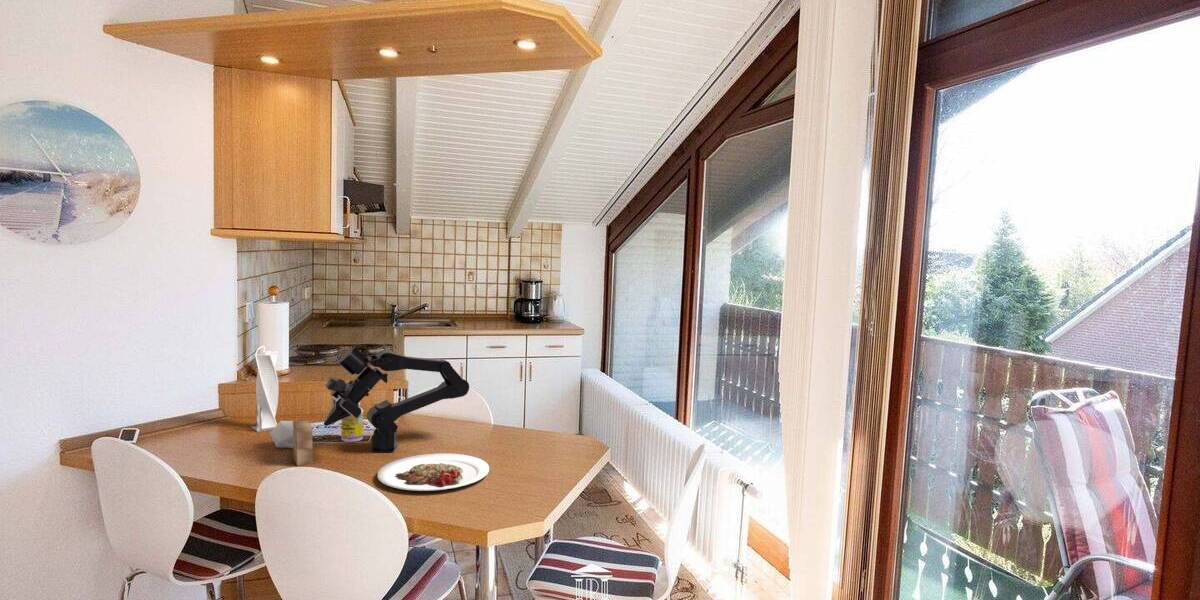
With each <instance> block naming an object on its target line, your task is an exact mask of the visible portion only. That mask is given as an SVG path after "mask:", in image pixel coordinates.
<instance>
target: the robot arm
mask: <svg viewBox="0 0 1200 600" xmlns="http://www.w3.org/2000/svg"><path fill="white" fill-rule="evenodd" d="M337 364H338V365H340V367H342V368H343V369H344V370H345V371H346V372H348V374H350V375H351V376H353V375H358V376H357V377H356V378H354V380H353V379H351V380H349V381H348V382H346V381H345V380H344V379H341V378H340V377H339V378H335V377H332V376H330V377H329V378H328V380H327V382H326V384H325V388H326V389H327V390H329V391H331V392H330V395H331V396H332V397H334V398H335V399H334V398H331V399H332V407H331V409H330V411H329V413H328V415H327V417H326V418H325V420H324V421H323V425H324V426H326V427H327V426H329V425H333V424H334V423H336V422H339V421H340V420H341V421H342V419H343V418H346V417H348V416H351V414H352V415H353V416H354V417H356V418H358V417H359V416H360V414H361V408H362V407H360V406H359V404H358V403H359V402H360V403H361V401H362V400H364V399H365V397H369V395H370V394H369V393H370V392H371V390H373V388H374V387H375V386H376V385H377V384H378V383H380V381H383V382H384V383H385V384H388V382H389V381H388V373H387V372H393V371H395V372H396V371H397V372H398V371H402V370H413V371H423V372H432V373H433V372H434V373H439V374H440V376H441V377H442V380H443V381H442V382H441V383H440V384H439V385H438V386H436V387H434V388H431V389H429V390H426V391H423V392H421V393H418V394H415V395H413V396H411V397H408V398H405V399H402V400H400V401H397V402H393V403H392V402H390V401H389V400H388V399H384V400H383V401H381V402H378V403H373V406H372V407H370V408H369V409H368V411H367V414H366V418H367V420H368V422H369V423H370V424H371V425H372V426H373V427H374V430H373V434H372V435H371V449H372V450H371V452H372V453H394V452H395V451H396V450H397V448H398V447H399V445H398V444H397V431H398V428H399V426H398V424H397V423H396V421H397V420H398V419H400V417H403V416H404V415H407V414H409V413H411V412H414V411H417V410H419V409H420V410H421V409H422V408H425V407H428V406H430V405H432V404H436V403H437V402H440V401H442V400H449V399H451V400H453V399H458V398H463V397H465V396H466V395H468V392H469V391H470V384H469V381H468V380H466V379H464V378H462V377H461V375H459V373H458V372H457V371H456V370H455V368H453V366H452V365H451V362H449V361H447V360H445V359H435V358H434V359H433V358H423V357H415V356H414V357H413V356H406V355H402V354H400V353H397V352H394V351H390V350H386V349H385V350H380V351H378V352H377V353H376V354H371V355H367V356H365V354H364V353H362V352H361V351H360V350H359V348H358V347H356V346H353V347H352V348H350V349H348V350H347V351H346V352H344V353H343V354H342V355H340V357H339V359H338V360H337ZM368 364H369V365H368ZM370 365H371V366H370ZM372 367H373V368H372ZM378 368H379V369H378ZM381 370H382V371H385V372H382V371H381ZM350 413H351V414H350Z"/></svg>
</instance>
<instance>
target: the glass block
mask: <svg viewBox="0 0 1200 600" xmlns="http://www.w3.org/2000/svg"><path fill="white" fill-rule="evenodd" d="M292 421H293V448H292V449H293V450H292V451H293V454H292V455H293V459H294V462H295V464H296V466H297V467H303V466H309V465H311V466H312V465H314V464H313V461H314V459H313V456H314V454H313V426H312V424H311V422H310V420H309V419H302V420H292Z"/></svg>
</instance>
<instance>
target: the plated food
mask: <svg viewBox="0 0 1200 600" xmlns="http://www.w3.org/2000/svg"><path fill="white" fill-rule="evenodd" d="M489 471H490V466H489V463H487V462H486V461H485V460H483V459H481V458H478V457H476V456H473V455H469V454H468V455H467V454H461V453H446V452H444V453H425V454H417V455H412V456H408V457H407V456H406V457H403V458H398V459H396V460H394V461H391V462H389V463H387V464H385V465H383V466H382V467H380V468H379V470H378V471H377V479H378V480H379V482H381V483H382V484H383V485H386V486H388V487H391V488H395V489H399V490H406V491H419V492H420V491H421V492H429V491H430V492H431V491H432V492H433V491H444V490H448V489H451V490H452V489H457V488H460V487H464V486H469V485H471V484H474V483H476V482H479V481H480V480H482V479H483V478H485V477H486V476H487V475H488V473H489Z"/></svg>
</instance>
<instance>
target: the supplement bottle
mask: <svg viewBox="0 0 1200 600" xmlns="http://www.w3.org/2000/svg"><path fill="white" fill-rule="evenodd" d="M358 404H359V407H360V406H361V401H360V402H359V403H358ZM360 408H361V414H360V416H359V417H358V418H356V417H354V416H353V415H352V414H351V413H350V414H351V416H348V417H346V418H343V419H341V438H340V439H341V441H342V442H345V443H356V442H360V441H362V440H363V438H364V409H363V408H362V407H360Z"/></svg>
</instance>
